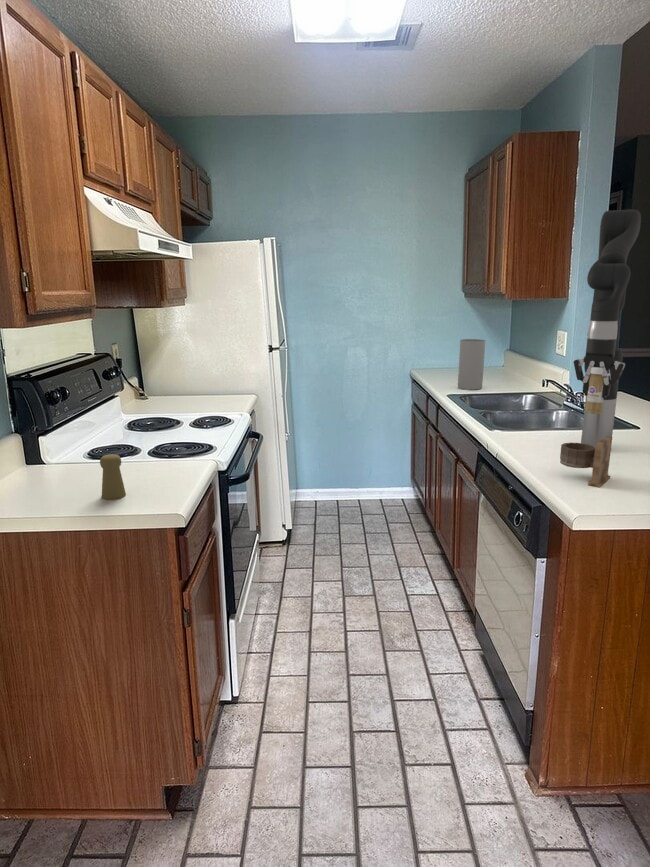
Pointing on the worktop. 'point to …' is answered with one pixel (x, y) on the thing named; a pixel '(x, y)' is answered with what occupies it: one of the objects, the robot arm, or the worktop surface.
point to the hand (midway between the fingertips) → (595, 396)
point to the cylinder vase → (471, 364)
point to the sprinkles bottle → (595, 391)
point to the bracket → (589, 459)
